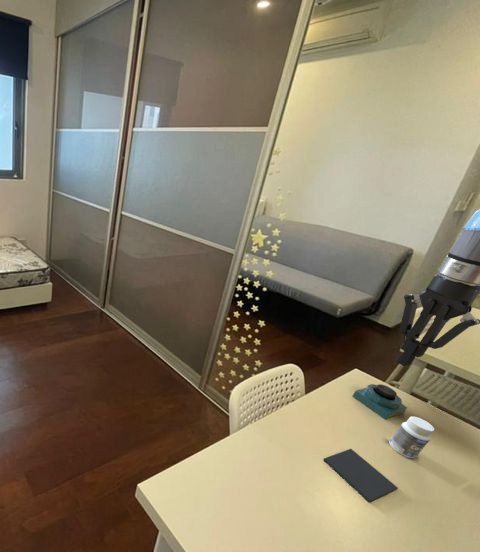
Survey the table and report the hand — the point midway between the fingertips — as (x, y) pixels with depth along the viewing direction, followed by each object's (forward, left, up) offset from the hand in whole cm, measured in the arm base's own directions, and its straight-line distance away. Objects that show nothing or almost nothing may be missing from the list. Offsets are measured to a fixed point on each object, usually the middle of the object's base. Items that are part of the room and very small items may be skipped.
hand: (403, 363), depth 80 cm
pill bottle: (-11, +10, -14) cm, 21 cm away
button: (0, 0, -10) cm, 10 cm away
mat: (-12, +28, -14) cm, 34 cm away
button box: (0, 0, -14) cm, 14 cm away
